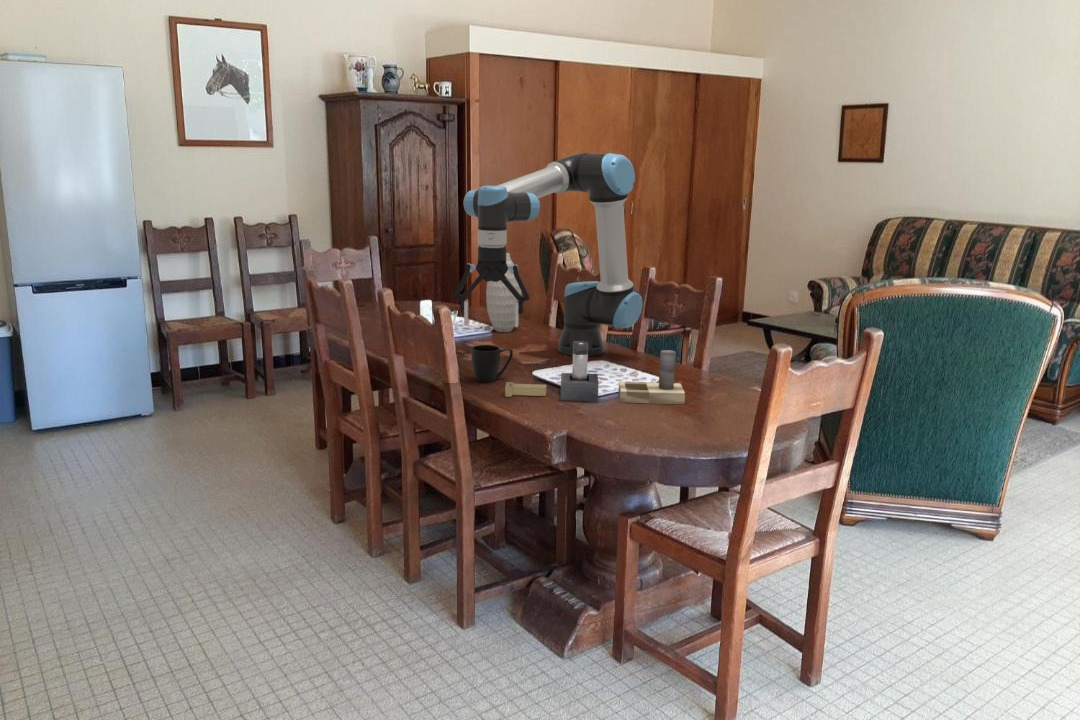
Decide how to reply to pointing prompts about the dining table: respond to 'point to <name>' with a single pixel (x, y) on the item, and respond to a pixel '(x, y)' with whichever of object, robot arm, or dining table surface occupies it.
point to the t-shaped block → (524, 389)
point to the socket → (579, 388)
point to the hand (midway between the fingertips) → (491, 325)
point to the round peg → (580, 361)
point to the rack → (655, 386)
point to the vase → (502, 301)
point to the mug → (488, 362)
